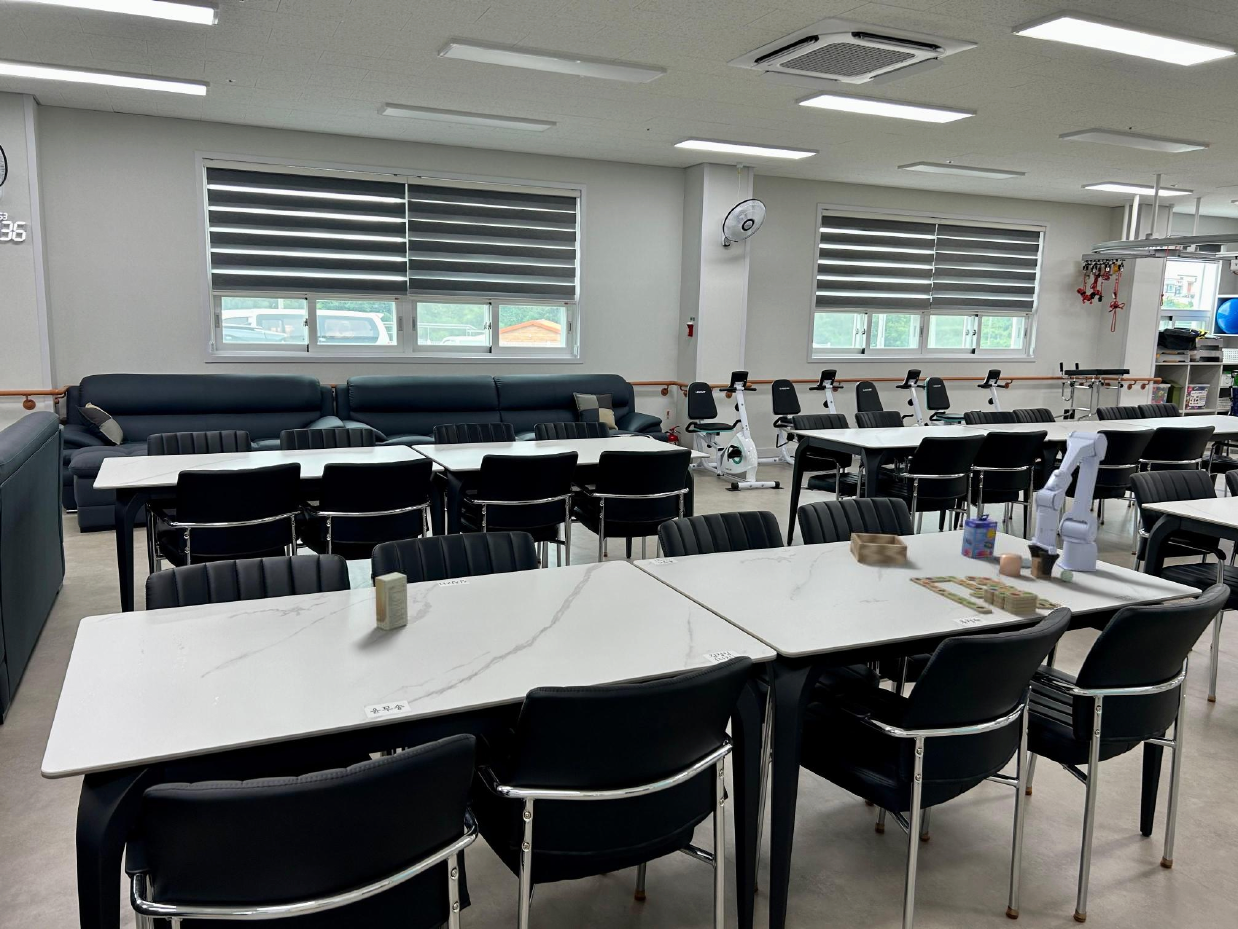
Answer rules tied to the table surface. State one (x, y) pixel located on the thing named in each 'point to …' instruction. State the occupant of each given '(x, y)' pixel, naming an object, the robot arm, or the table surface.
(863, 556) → the holder corral
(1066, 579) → the sage ball
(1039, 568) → the walnut block
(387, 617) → the skincare box
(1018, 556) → the peach domed cylinder
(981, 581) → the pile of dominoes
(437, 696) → the table surface
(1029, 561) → the slate pad
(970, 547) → the blue box with handle
